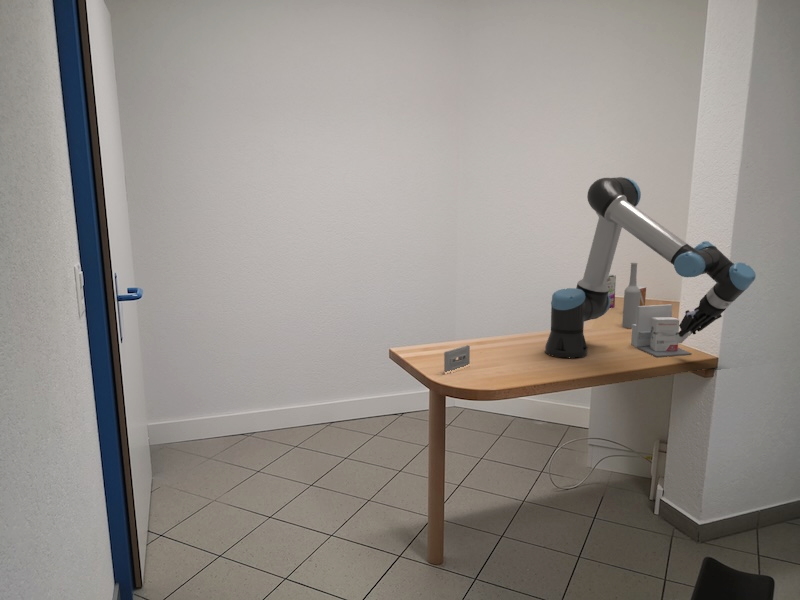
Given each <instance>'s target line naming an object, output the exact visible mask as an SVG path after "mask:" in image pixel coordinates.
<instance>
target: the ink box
mask: <svg viewBox="0 0 800 600" xmlns="http://www.w3.org/2000/svg"><path fill="white" fill-rule="evenodd" d="M679 325H680V319H678V318H676V317H659V318H652V321H651V340H650V348H651V349H653V350H654V351H677V350H678V348H679V343H678V342H677V340H676V338H675V336H676V335H677V334H678V333H679V332H680V330H679V329H680V326H679Z"/></svg>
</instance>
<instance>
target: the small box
mask: <svg viewBox="0 0 800 600" xmlns="http://www.w3.org/2000/svg"><path fill="white" fill-rule="evenodd" d="M637 287H638V288H639V290H640V306H646V297H647V287H646V286H640V285H639V286H638V285H637Z"/></svg>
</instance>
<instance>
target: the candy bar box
mask: <svg viewBox="0 0 800 600" xmlns="http://www.w3.org/2000/svg"><path fill="white" fill-rule="evenodd" d="M616 277H617V276H616V275H615V274H610V273H609V276H608V279H607V283H606V285H607V286H608V288H609V292H608V294H609V297H610V307H609V309H612V308H615V306H616V305H615V303H616V280H617V279H616ZM611 307H612V308H611Z"/></svg>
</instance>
